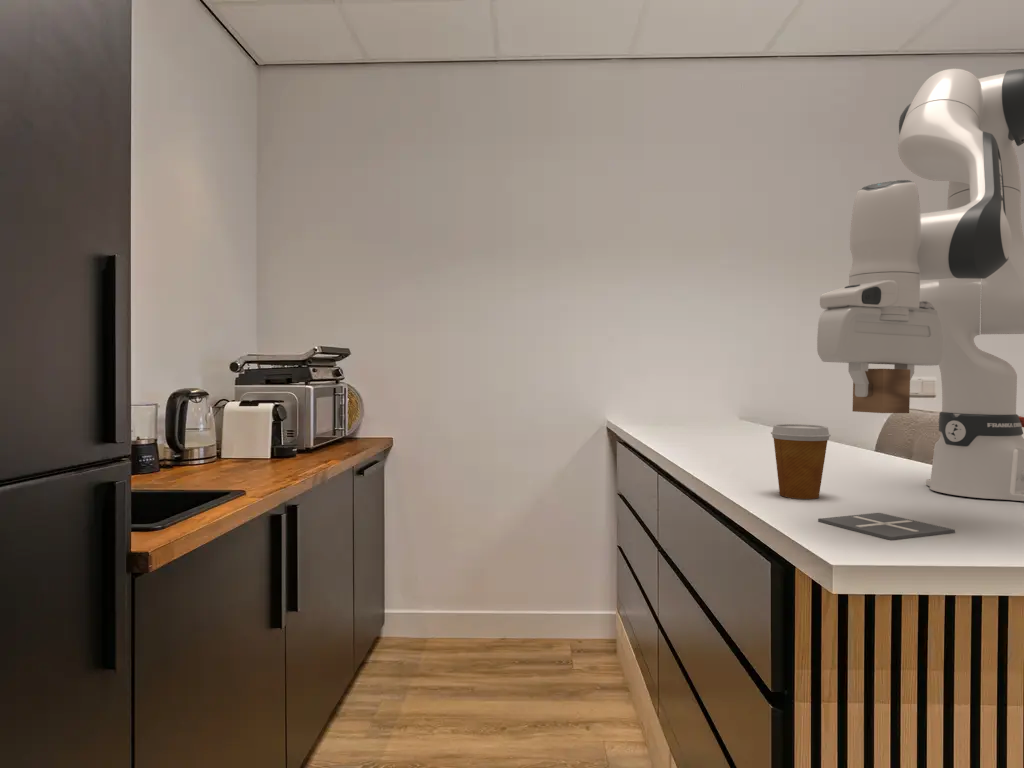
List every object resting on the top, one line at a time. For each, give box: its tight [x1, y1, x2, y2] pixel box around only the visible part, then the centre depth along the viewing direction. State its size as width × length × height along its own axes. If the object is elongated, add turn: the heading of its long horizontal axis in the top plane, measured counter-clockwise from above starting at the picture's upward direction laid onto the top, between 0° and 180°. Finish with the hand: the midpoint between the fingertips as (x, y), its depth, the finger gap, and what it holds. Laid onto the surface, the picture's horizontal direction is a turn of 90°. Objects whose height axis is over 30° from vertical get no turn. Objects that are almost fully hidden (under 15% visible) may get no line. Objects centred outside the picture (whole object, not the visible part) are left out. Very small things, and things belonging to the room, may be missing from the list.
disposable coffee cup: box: [770, 423, 831, 500], centre depth 125 cm, size 10×10×12 cm
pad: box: [817, 512, 956, 541], centre depth 101 cm, size 12×12×1 cm
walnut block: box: [852, 368, 911, 414], centre depth 102 cm, size 5×5×6 cm
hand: (880, 397), depth 102 cm, fingers closed on walnut block, 5 cm apart
